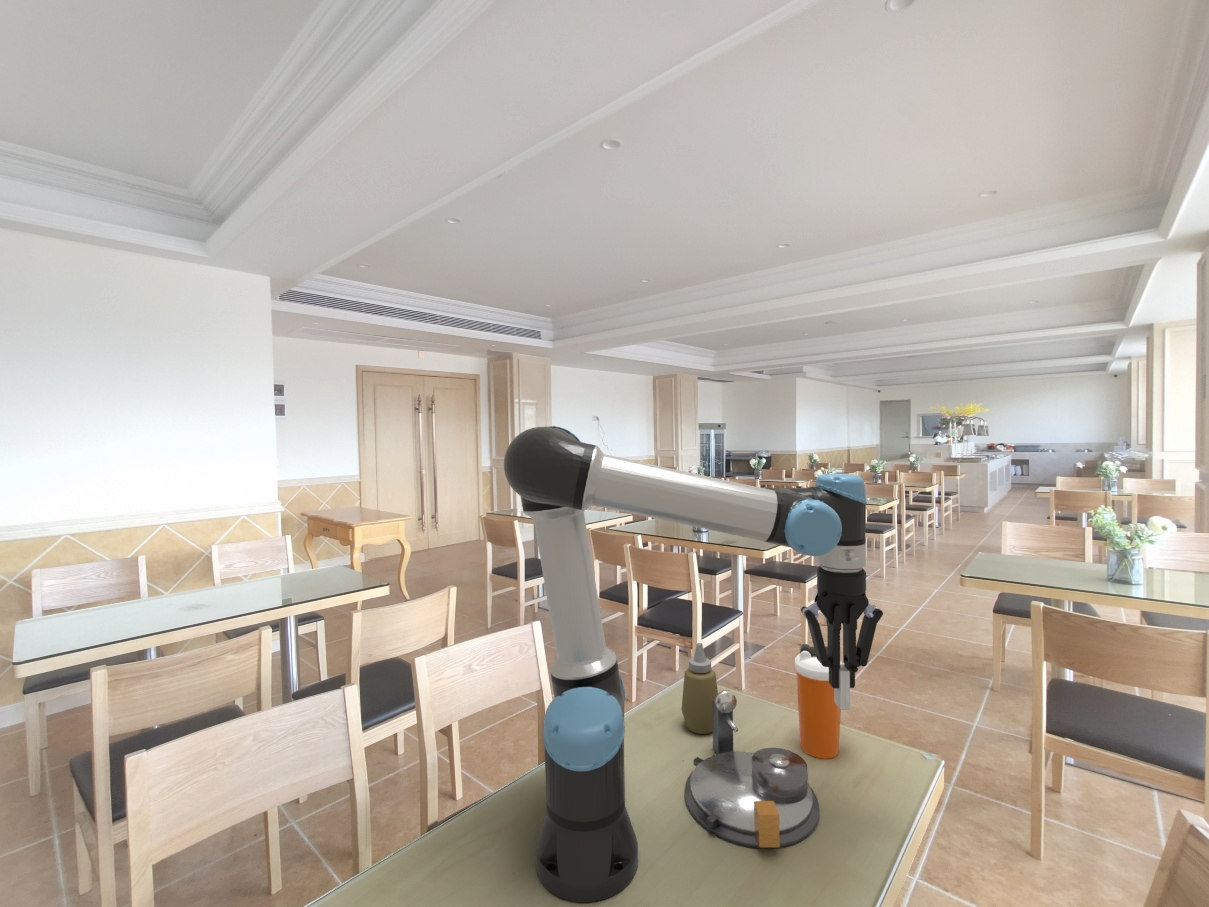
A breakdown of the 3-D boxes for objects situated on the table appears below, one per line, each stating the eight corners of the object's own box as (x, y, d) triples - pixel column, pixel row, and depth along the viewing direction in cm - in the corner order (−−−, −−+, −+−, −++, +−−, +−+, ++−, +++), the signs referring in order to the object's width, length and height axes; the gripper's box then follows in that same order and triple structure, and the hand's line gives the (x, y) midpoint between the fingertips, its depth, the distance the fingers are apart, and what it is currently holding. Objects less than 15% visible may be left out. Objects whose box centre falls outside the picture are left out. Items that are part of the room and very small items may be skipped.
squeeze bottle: (692, 713, 123) (691, 634, 122) (726, 724, 118) (725, 641, 118) (674, 730, 117) (673, 646, 116) (710, 742, 112) (709, 654, 111)
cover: (759, 803, 90) (759, 776, 89) (746, 769, 99) (746, 744, 98) (815, 803, 89) (815, 775, 89) (797, 769, 98) (797, 744, 98)
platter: (701, 847, 82) (701, 814, 82) (684, 758, 105) (683, 732, 104) (837, 847, 82) (837, 814, 81) (791, 757, 104) (790, 731, 104)
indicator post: (726, 773, 102) (725, 704, 101) (710, 749, 110) (709, 684, 109) (746, 770, 102) (745, 702, 102) (729, 746, 110) (728, 682, 110)
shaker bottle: (848, 764, 104) (848, 659, 103) (798, 759, 105) (797, 656, 104) (838, 737, 112) (838, 641, 111) (792, 734, 114) (791, 638, 113)
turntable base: (693, 849, 84) (693, 842, 84) (678, 761, 106) (678, 756, 106) (841, 849, 83) (841, 842, 83) (794, 760, 105) (794, 755, 105)
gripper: (808, 573, 88) (810, 717, 90) (892, 572, 88) (892, 717, 89) (794, 562, 96) (795, 695, 97) (870, 560, 96) (871, 694, 97)
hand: (842, 705), depth 93 cm, fingers closed
